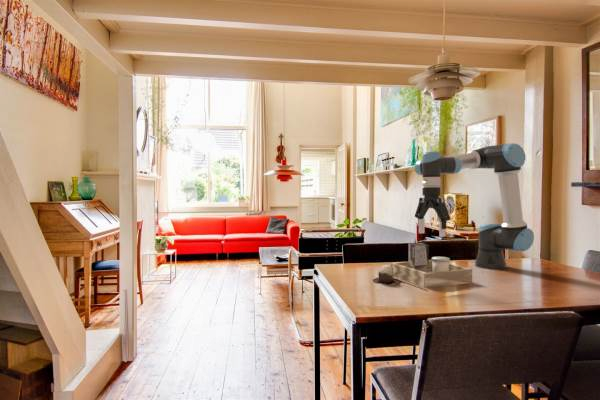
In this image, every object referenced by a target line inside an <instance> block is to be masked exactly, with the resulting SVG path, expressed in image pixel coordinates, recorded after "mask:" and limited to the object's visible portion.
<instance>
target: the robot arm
mask: <svg viewBox="0 0 600 400" xmlns="http://www.w3.org/2000/svg"><path fill="white" fill-rule="evenodd" d="M526 159H527V158H526V153H525V150H524V149H523V147H522V146H521V145H520V144H518V143H515V142H514V143H512V142H511V143H503V144H497V145H489V146H484V147H481V148H477V149H473V150H469V151H467V152H466V153H459V154H453V155H446V156H441V152H440V151H424V152H423V154H422V159H420V160H417V161H416V162H415V163H414V172H415V173H416V174H417V175H418V176H422V186H423V187H422V196H424V197H419V199H418V205H417V207H416V211H415V213H414V214H415V215H414V217H415V218H417V225H418V234H426V233H425V232H426V231H425V226H426V225H425V216H426V214H427V212H428V211H429V209H433V210H434V212H435V213H436V215H437V217H438V218H439V221H438V223H439V226H438V228H439V229H438V230H439V231H438V233H439V235H438V237H439V238H442V237H447V236H446V235H447V234H446V233H447V231H446V230H447V222H448V221H451V216H450V214H449V211H448V208H447V205H446V199H445V198H444V197H439V196H441V193H442V192H441V187H440V186H441V183H442V182H441V175H448V174H449V175H453V174H455V175H456V174H458V173H460V171H461V170H463V169H471V170H474V169H493V173H494V174H495V175H497V176H498V177H497V178H498V185H499V187H498V188H499V195H500V201H501V202H500V203H501V210H502V211H501V214H502V220H503V222H502V223H491V224H490V223H489V224H488V223H487V224H486V223H485V224H481V225H479V227H478V253H477V255H476V258H475V260H474V266H476V267H478V268H482V269H483V268H484V269H493V270H501V269H502V270H504V269H507V261H506V259H505V255H504V250H508V251H514V252H526V251H528V250H529V249H531V247H532V246H533V244H534V241H535V240H534V239H535V234H534V231H533V230H532V229H531V228H528V223H527V222H526V221H524V218H523V217H524V216H523V209H522V207H523V206H522V199H521V189H520V181H519V173H520V171H521V170H522V167H523V166H524V165H525V161H526Z"/></svg>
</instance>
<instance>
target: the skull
mask: <svg viewBox="0 0 600 400" xmlns="http://www.w3.org/2000/svg"><path fill="white" fill-rule="evenodd" d="M377 276H378V277H375V278H373V279H372V282H374V283H375V284H380V285H381V284H383V285H390V286H394V285H400V284H401V281H402V280H401V279H399V278H396V277H394V273H393V268H392V267H391V265H388V264H384V265H382V266H381V267H380V268H379V270H378V275H377ZM400 280H401V281H400Z"/></svg>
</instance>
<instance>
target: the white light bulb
mask: <svg viewBox="0 0 600 400" xmlns="http://www.w3.org/2000/svg"><path fill="white" fill-rule="evenodd" d="M431 260H432V272H440V271H449V264H450V260H451V259H450V257H447V256H432V257H431Z"/></svg>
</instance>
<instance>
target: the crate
mask: <svg viewBox="0 0 600 400" xmlns="http://www.w3.org/2000/svg"><path fill="white" fill-rule="evenodd" d="M390 266H391V267H392V268H393V273H394V277H393V278H396V279H399V280H400V281H401V282H402V283H403V284H407V285H409V286H412V287H415V288H417V289H421V290H423V291H429V290H428V289H429V288H438V287H446V286H454V285H465V284H466V285H467V284H473V269H472V268H469V267H465V266H462V265H461V266H460V265H457V264H452V263H449V271H440V272H432V259H429V273H425V272H422V271H419V270H415V269H412V268H409V261H401V262H398V261H397V262H390ZM401 282H400V283H401ZM414 284H415V285H414ZM419 286H420V287H419Z"/></svg>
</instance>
